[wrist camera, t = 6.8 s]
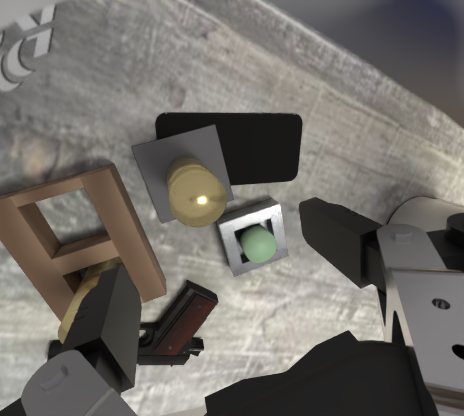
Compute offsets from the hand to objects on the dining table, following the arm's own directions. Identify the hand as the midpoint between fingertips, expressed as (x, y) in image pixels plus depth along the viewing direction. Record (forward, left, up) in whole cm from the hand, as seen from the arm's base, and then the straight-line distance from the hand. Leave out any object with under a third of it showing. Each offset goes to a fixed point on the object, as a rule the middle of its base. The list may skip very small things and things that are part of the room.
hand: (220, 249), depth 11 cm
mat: (0, 0, -15) cm, 15 cm away
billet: (0, 0, -15) cm, 15 cm away
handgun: (+11, +15, -16) cm, 24 cm away
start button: (-5, +9, -14) cm, 17 cm away
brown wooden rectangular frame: (+11, +4, -15) cm, 19 cm away
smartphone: (-5, -1, -16) cm, 17 cm away
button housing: (-5, +9, -15) cm, 18 cm away
